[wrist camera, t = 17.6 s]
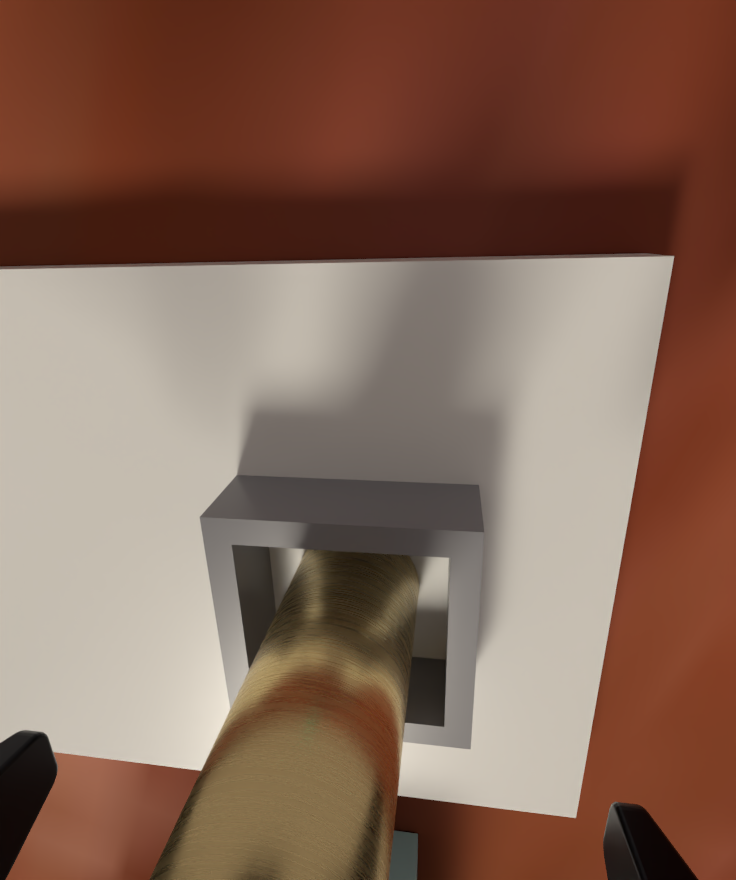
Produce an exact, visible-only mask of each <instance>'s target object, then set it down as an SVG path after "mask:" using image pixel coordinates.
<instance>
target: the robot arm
mask: <svg viewBox="0 0 736 880" xmlns="http://www.w3.org/2000/svg"><path fill="white" fill-rule="evenodd" d="M57 770H58V766H57V762H56V759H55V756H54V753H53V750H52V747H51V744H50V741H49V738H48V736H47V734H45V733H44V732H39V731H31V730H22V731H19V732H17V733H15V734H13V735H11V736H10V737H8V738H7V739H5V740H4V741H2V742H1V743H0V880H5V879H6V877H7V876H8V874H9V872H10V870H11V868H12V866H13V864H14V862H15V860H16V858H17V856H18V854H19V852H20V850H21V848H22V846H23V844H24V842H25V840H26V838H27V836H28V834H29V832H30V830H31V828H32V826H33V824H34V822H35V820H36V818H37V816H38V814H39V812H40V810H41V808H42V806H43V804H44V802H45V800H46V798H47V796H48V794H49V792H50V790H51V788H52V786H53V784H54V781H55V779H56V776H57ZM603 849H604V858H605V864H606V870H607V877H608V880H698V879H697V877H696V876H695V875H694V873H693V872H692V871H691V869H690V868H689V867H688V865H687V864H686V863H685V861H684V860H683V859H682V857H681V856H680V855H679V853H678V852H677V850H676V849H675V848H674V846H673V845H672V844H671V842H670V841H669V840H668V838H667V837H666V836H665V834H664V833H663V832H662V830H661V829H660V828H659V826H658V825H657V824H656V822H655V821H654V820H653V818H652V817H651V816H650V814H649V813H648V812H647V811H646V810H645V809H644V808H643V807H642V806H640V805H637V804H629V803H621V802H614V803H613V804H612V805H611V807H610V810H609V815H608V819H607V824H606V829H605V834H604V839H603Z"/></svg>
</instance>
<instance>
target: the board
mask: <svg viewBox="0 0 736 880" xmlns="http://www.w3.org/2000/svg"><path fill="white" fill-rule="evenodd" d="M673 261H674V256H667V255H658V254H648V253H634V254H585V255H536V256H487V257H439V258H390V259H341V260H292V261H243V262H195V263H146V264H97V265H48V266H0V743H1V742H2V741H4V740H5V739H7V738H8V737H10V736H11V735H13V734H15V733H17V732H19V731H22V730H31V731H39V732H44V733H45V734H47V736H48V738H49V741H50V744H51V747H52V750H53V752H58V753H66V754H74V755H82V756H90V757H97V758H105V759H113V760H121V761H129V762H137V763H145V764H153V765H161V766H169V767H176V768H184V769H192V770H200V771H201V770H202V768H203V766H204V764H205V762H206V760H207V758H208V755H209V753H210V751H211V749H212V747H213V745H214V743H215V741H216V739H217V737H218V734H219V732H220V730H221V728H222V726H223V724H224V722H225V720H226V718H227V715H228V713H229V711H230V709H231V707H232V705H233V703H234V701H235V699H236V697H237V694H238V692H239V690H240V688H241V686H242V684H243V682H244V680H245V678H246V675H247V673H248V671H249V669H250V667H251V665H252V663H253V661H254V659H255V656H256V654H257V652H258V650H259V648H260V646H261V644H262V642H263V640H264V638H265V635H266V633H267V631H268V629H269V627H270V625H271V623H272V621H273V619H274V616H275V614H276V612H277V610H278V608H279V606H280V604H281V602H282V600H283V598H284V595H285V593H286V591H287V589H288V587H289V585H290V583H291V581H292V579H293V576H294V574H295V572H296V570H297V568H298V566H299V564H300V562H301V560H302V558H303V555H304V553H305V552H306V550H307V549H312V550H328V551H345V552H361V553H378V554H394V555H408V556H409V557H410V558H411V560H412V562H413V563H414V566H415V568H416V570H417V574H418V578H419V594H418V604H417V613H416V623H415V632H414V642H413V652H412V661H411V671H410V680H409V690H408V699H407V709H406V719H405V728H404V738H403V747H402V757H401V766H400V776H399V786H398V796H406V797H414V798H421V799H429V800H437V801H445V802H453V803H461V804H469V805H477V806H485V807H493V808H500V809H508V810H516V811H524V812H532V813H540V814H548V815H556V816H564V817H572V818H576V814H577V809H578V803H579V797H580V791H581V786H582V780H583V774H584V769H585V763H586V757H587V752H588V746H589V740H590V734H591V729H592V723H593V717H594V712H595V706H596V700H597V694H598V689H599V683H600V677H601V672H602V666H603V660H604V655H605V649H606V643H607V637H608V632H609V626H610V620H611V615H612V609H613V603H614V597H615V592H616V586H617V580H618V575H619V569H620V563H621V557H622V552H623V546H624V540H625V535H626V529H627V523H628V518H629V512H630V506H631V500H632V495H633V489H634V483H635V478H636V472H637V466H638V460H639V455H640V449H641V443H642V438H643V432H644V426H645V421H646V415H647V409H648V403H649V398H650V392H651V386H652V381H653V375H654V369H655V363H656V358H657V352H658V346H659V341H660V335H661V329H662V324H663V318H664V312H665V306H666V301H667V295H668V289H669V284H670V278H671V272H672V266H673Z"/></svg>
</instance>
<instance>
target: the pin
mask: <svg viewBox="0 0 736 880" xmlns="http://www.w3.org/2000/svg"><path fill="white" fill-rule="evenodd" d="M418 594H419V578H418V574H417V570H416V568H415V566H414V563H413V562H412V560H411V558H410V557H409V556H408V555H394V554H378V553H361V552H345V551H328V550H312V549H307V550H306V552H305V553H304V555H303V558H302V560H301V562H300V564H299V566H298V568H297V570H296V572H295V574H294V576H293V579H292V581H291V583H290V585H289V587H288V589H287V591H286V593H285V595H284V598H283V600H282V602H281V604H280V606H279V608H278V610H277V612H276V614H275V616H274V619H273V621H272V623H271V625H270V627H269V629H268V631H267V633H266V635H265V638H264V640H263V642H262V644H261V646H260V648H259V650H258V652H257V654H256V656H255V659H254V661H253V663H252V665H251V667H250V669H249V671H248V673H247V675H246V678H245V680H244V682H243V684H242V686H241V688H240V690H239V692H238V694H237V697H236V699H235V701H234V703H233V705H232V707H231V709H230V711H229V713H228V715H227V718H226V720H225V722H224V724H223V726H222V728H221V730H220V732H219V734H218V737H217V739H216V741H215V743H214V745H213V747H212V749H211V751H210V753H209V755H208V758H207V760H206V762H205V764H204V766H203V768H202V770H201V772H200V774H199V777H198V779H197V781H196V783H195V785H194V787H193V789H192V791H191V793H190V795H189V798H188V800H187V802H186V804H185V806H184V808H183V810H182V812H181V814H180V817H179V819H178V821H177V823H176V825H175V827H174V829H173V831H172V833H171V835H170V838H169V840H168V842H167V844H166V846H165V848H164V850H163V852H162V854H161V857H160V859H159V861H158V863H157V865H156V867H155V869H154V871H153V873H152V876H151V878H150V880H389V872H390V862H391V853H392V843H393V834H394V824H395V814H396V805H397V795H398V786H399V776H400V766H401V757H402V747H403V738H404V728H405V719H406V709H407V699H408V690H409V680H410V671H411V661H412V652H413V642H414V632H415V623H416V613H417V604H418Z"/></svg>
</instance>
